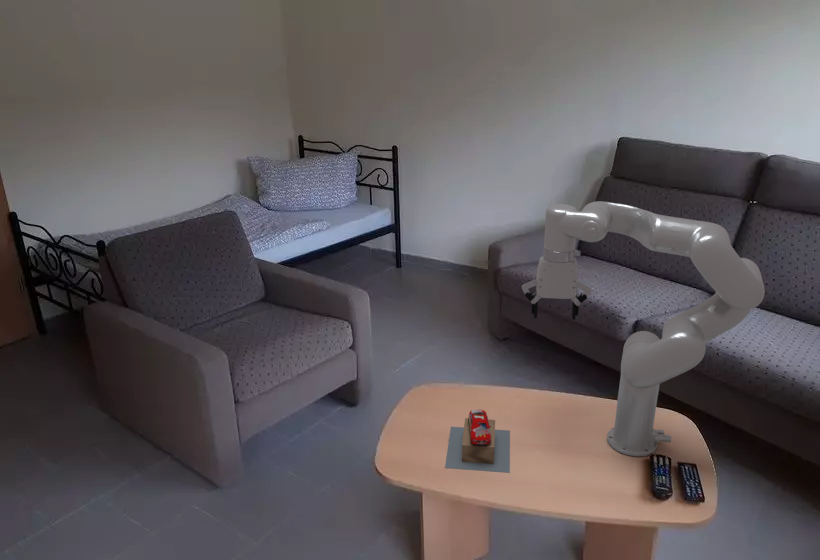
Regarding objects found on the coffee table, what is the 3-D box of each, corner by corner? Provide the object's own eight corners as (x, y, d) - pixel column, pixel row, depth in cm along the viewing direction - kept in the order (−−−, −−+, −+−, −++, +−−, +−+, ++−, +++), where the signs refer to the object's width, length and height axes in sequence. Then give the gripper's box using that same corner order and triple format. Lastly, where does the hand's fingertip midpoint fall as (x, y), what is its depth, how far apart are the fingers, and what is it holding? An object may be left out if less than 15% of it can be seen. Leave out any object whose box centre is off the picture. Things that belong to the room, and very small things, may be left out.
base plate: (509, 434, 182) (509, 430, 181) (509, 476, 165) (509, 472, 165) (450, 430, 184) (450, 426, 183) (444, 471, 167) (444, 467, 167)
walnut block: (494, 435, 179) (495, 420, 177) (493, 464, 168) (494, 447, 166) (464, 433, 180) (464, 418, 178) (461, 461, 169) (462, 445, 167)
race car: (492, 448, 166) (492, 435, 164) (470, 448, 166) (470, 434, 165) (488, 418, 178) (488, 405, 177) (467, 417, 178) (468, 405, 177)
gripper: (592, 250, 168) (587, 312, 175) (523, 248, 171) (520, 309, 177) (596, 260, 162) (590, 324, 168) (523, 258, 164) (520, 321, 170)
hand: (554, 316), depth 173 cm, fingers open, 9 cm apart
